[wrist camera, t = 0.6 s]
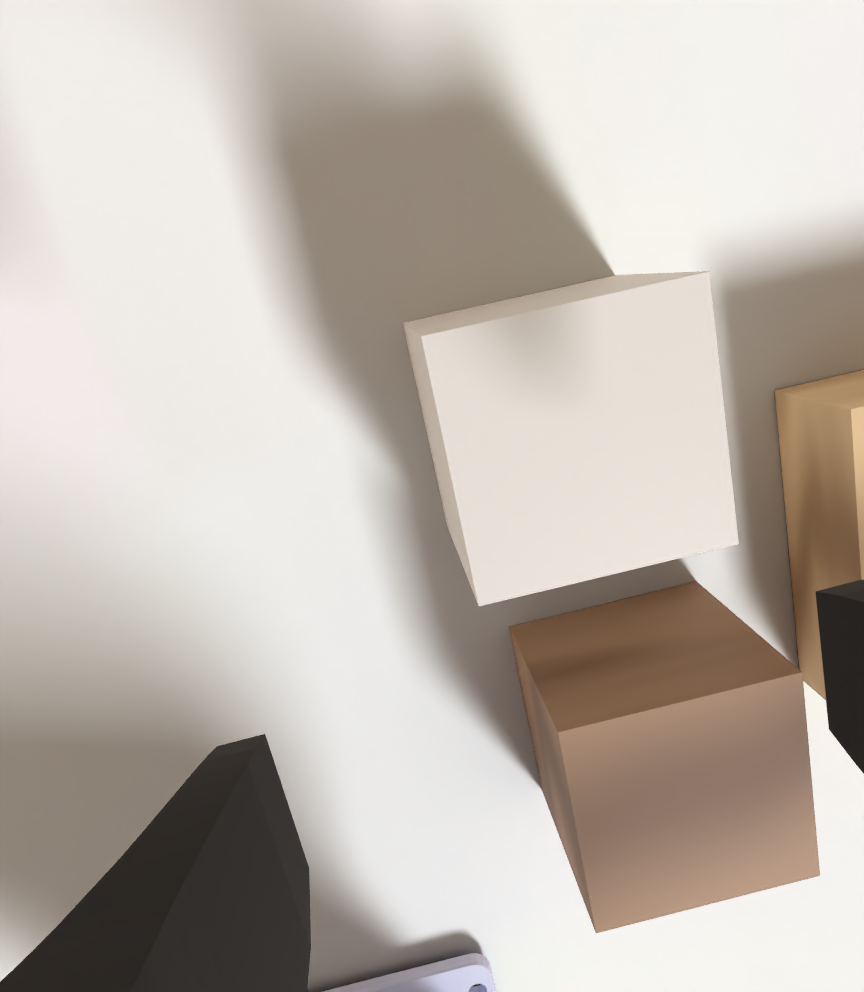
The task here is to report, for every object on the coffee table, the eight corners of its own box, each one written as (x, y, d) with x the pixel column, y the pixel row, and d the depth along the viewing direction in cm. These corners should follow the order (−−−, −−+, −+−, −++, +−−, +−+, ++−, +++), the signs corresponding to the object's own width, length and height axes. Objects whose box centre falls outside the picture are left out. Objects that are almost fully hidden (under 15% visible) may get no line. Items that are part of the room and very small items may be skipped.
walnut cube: (715, 744, 22) (819, 875, 17) (541, 787, 21) (595, 932, 17) (695, 580, 20) (802, 672, 15) (508, 625, 20) (557, 732, 15)
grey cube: (642, 479, 19) (739, 544, 15) (447, 525, 19) (478, 606, 14) (613, 275, 18) (709, 271, 13) (402, 322, 18) (421, 336, 13)
